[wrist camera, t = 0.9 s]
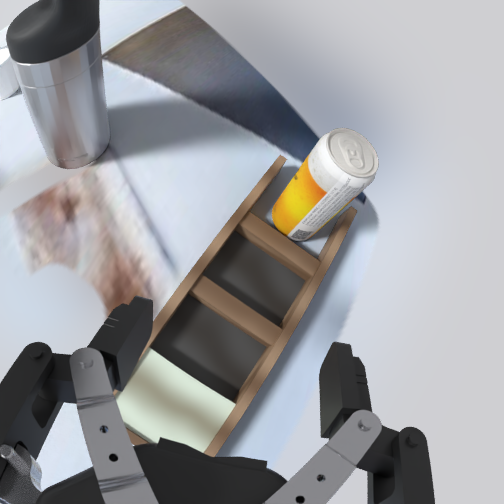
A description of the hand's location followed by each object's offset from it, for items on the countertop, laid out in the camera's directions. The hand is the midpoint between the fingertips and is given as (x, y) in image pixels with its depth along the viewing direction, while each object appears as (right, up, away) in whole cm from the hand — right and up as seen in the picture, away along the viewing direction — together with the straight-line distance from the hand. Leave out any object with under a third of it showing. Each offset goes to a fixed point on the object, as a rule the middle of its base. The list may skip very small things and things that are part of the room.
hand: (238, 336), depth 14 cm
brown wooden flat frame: (-1, -2, +21) cm, 21 cm away
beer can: (+6, +8, +27) cm, 28 cm away
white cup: (-40, +30, +22) cm, 55 cm away
